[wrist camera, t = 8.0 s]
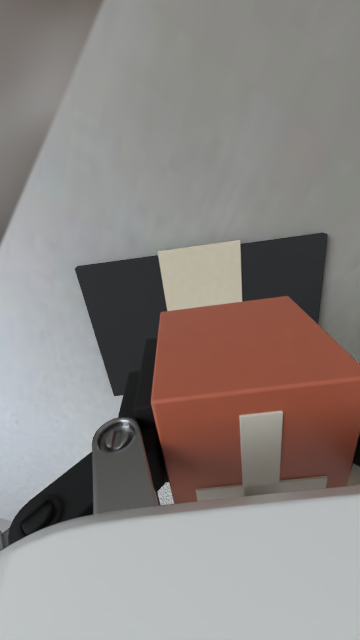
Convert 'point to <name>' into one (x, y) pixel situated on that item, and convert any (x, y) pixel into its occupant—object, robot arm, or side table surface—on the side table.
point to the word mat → (193, 289)
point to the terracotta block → (253, 401)
